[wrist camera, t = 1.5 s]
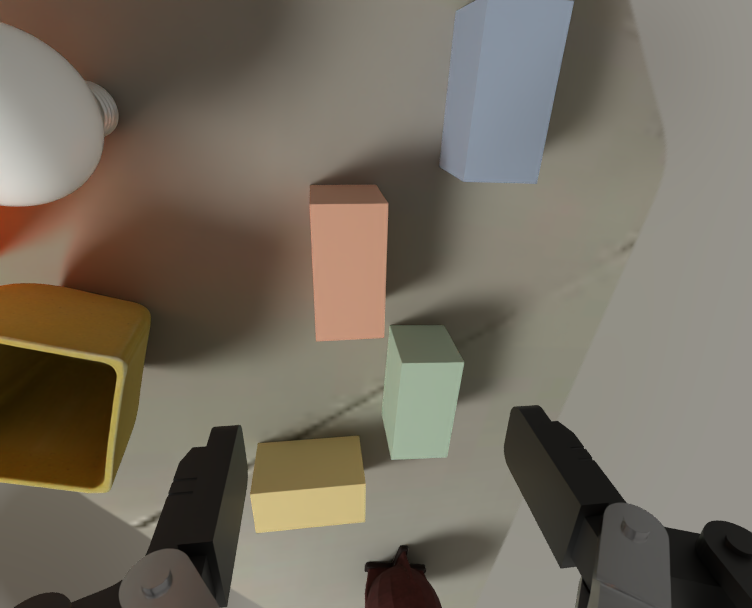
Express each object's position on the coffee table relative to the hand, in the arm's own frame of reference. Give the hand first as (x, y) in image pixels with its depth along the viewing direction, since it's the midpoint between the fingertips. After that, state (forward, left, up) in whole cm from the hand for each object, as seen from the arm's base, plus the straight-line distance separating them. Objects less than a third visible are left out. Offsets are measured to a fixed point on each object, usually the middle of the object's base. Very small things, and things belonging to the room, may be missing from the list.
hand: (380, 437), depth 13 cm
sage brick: (+10, +5, -17) cm, 21 cm away
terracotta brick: (0, 0, -17) cm, 17 cm away
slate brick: (-9, +8, -17) cm, 21 cm away
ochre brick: (+18, -3, -17) cm, 25 cm away
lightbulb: (-8, -13, -17) cm, 23 cm away
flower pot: (+5, -16, -17) cm, 24 cm away
